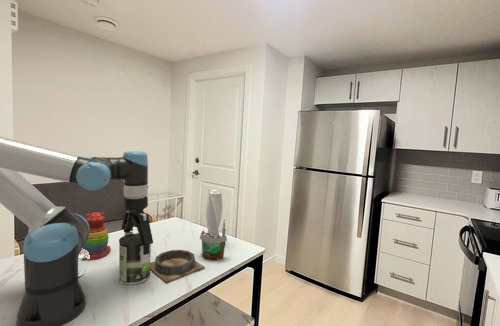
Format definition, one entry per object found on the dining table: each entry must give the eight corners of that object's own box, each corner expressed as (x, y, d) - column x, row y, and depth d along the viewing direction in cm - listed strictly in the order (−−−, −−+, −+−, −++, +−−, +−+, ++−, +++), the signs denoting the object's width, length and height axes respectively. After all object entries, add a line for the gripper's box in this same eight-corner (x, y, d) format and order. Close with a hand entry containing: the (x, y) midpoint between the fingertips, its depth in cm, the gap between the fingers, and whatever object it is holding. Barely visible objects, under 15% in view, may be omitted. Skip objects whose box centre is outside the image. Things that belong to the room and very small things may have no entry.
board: (166, 283, 89) (166, 281, 89) (145, 266, 100) (145, 264, 100) (204, 268, 101) (204, 266, 101) (182, 254, 112) (182, 252, 112)
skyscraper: (214, 251, 117) (216, 189, 114) (200, 246, 121) (202, 187, 119) (225, 245, 124) (228, 187, 122) (212, 241, 128) (214, 184, 126)
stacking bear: (110, 248, 115) (110, 208, 113) (110, 257, 106) (110, 214, 104) (81, 251, 110) (81, 210, 108) (78, 262, 101) (77, 217, 99)
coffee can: (156, 272, 97) (156, 234, 95) (139, 287, 87) (139, 245, 85) (131, 267, 99) (131, 231, 97) (111, 282, 89) (111, 241, 87)
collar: (167, 279, 90) (167, 271, 90) (148, 264, 100) (148, 256, 100) (201, 266, 101) (202, 259, 100) (181, 253, 111) (181, 246, 110)
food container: (193, 257, 110) (194, 234, 109) (202, 251, 115) (202, 229, 114) (218, 264, 105) (219, 240, 104) (226, 258, 110) (227, 235, 109)
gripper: (164, 201, 84) (163, 265, 86) (132, 189, 101) (132, 242, 103) (140, 205, 79) (141, 273, 81) (111, 191, 96) (112, 247, 98)
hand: (136, 255), depth 92 cm, fingers open, 13 cm apart
